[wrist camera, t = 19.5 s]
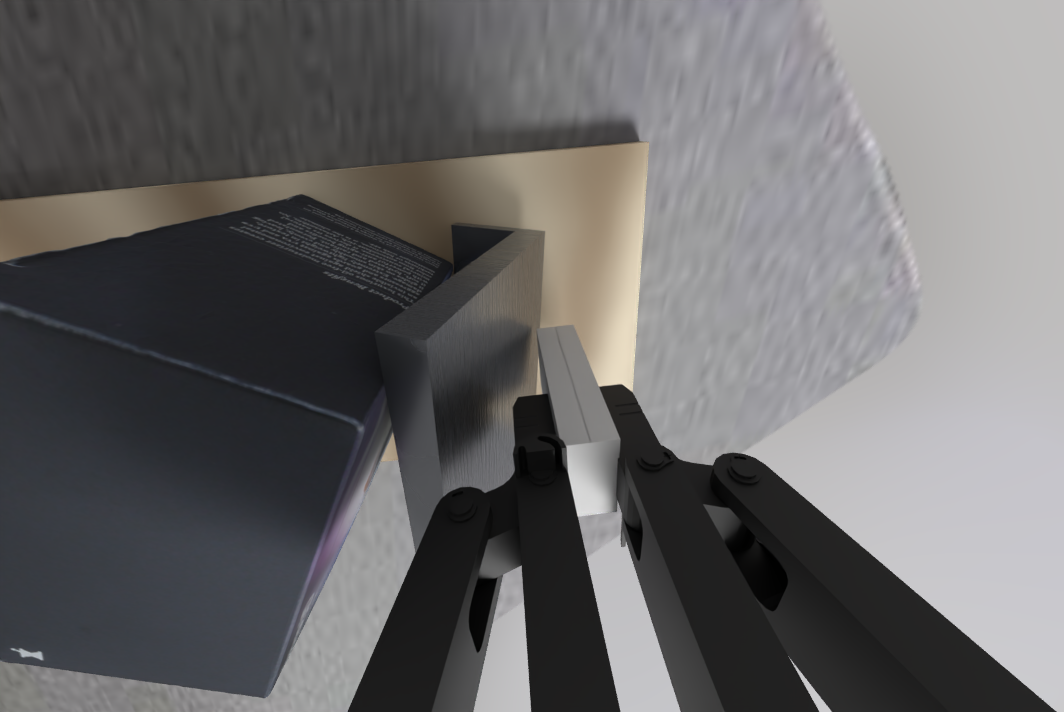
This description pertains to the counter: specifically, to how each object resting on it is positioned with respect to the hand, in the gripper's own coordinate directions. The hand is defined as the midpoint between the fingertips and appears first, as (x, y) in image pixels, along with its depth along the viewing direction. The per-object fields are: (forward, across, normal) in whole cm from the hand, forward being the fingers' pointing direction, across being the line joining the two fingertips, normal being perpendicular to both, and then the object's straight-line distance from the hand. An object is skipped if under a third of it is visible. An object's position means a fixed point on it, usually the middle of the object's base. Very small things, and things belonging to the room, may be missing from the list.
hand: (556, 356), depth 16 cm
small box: (+2, -9, +1) cm, 9 cm away
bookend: (+2, -2, 0) cm, 3 cm away
